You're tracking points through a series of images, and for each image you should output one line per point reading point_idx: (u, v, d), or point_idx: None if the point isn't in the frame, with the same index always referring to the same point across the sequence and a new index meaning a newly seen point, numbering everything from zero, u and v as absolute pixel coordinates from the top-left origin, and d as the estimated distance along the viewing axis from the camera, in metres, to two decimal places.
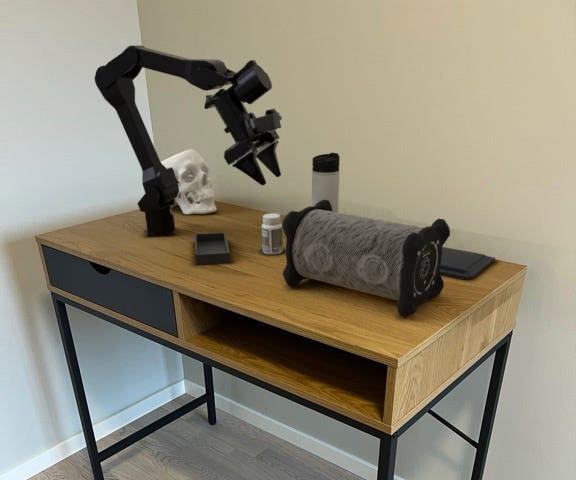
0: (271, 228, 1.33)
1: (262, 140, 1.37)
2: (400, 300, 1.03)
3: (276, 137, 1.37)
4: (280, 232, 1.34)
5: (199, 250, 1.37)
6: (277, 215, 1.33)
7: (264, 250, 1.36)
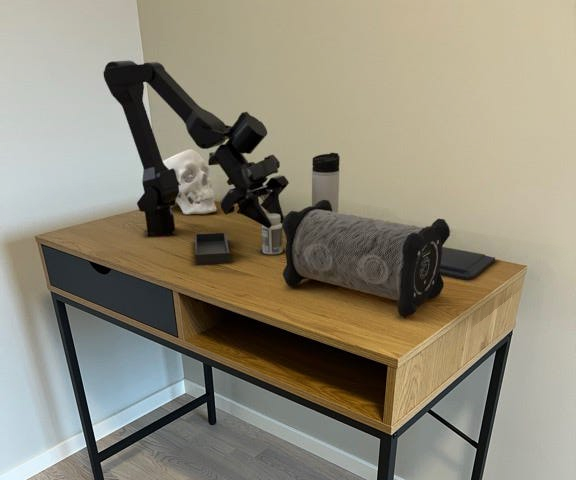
0: (271, 228, 1.33)
1: (270, 187, 1.37)
2: (400, 300, 1.03)
3: (283, 182, 1.36)
4: (281, 232, 1.34)
5: (199, 250, 1.37)
6: (277, 215, 1.33)
7: (264, 250, 1.36)
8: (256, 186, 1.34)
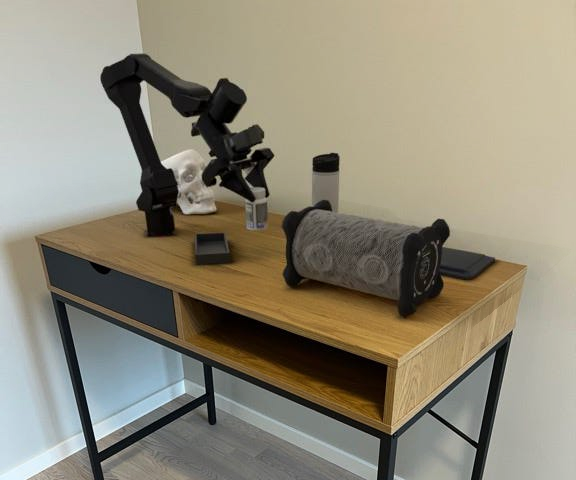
0: (255, 202, 1.26)
1: (254, 160, 1.30)
2: (400, 300, 1.03)
3: (269, 154, 1.30)
4: (265, 207, 1.27)
5: (199, 250, 1.37)
6: (262, 189, 1.27)
7: (248, 226, 1.29)
8: (240, 158, 1.27)
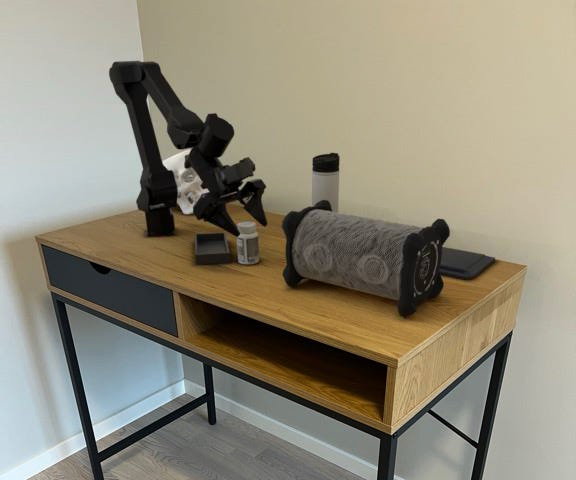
0: (245, 237, 1.27)
1: (246, 191, 1.31)
2: (400, 300, 1.03)
3: (260, 186, 1.30)
4: (256, 241, 1.29)
5: (199, 250, 1.37)
6: (252, 223, 1.28)
7: (239, 260, 1.30)
8: (231, 190, 1.28)
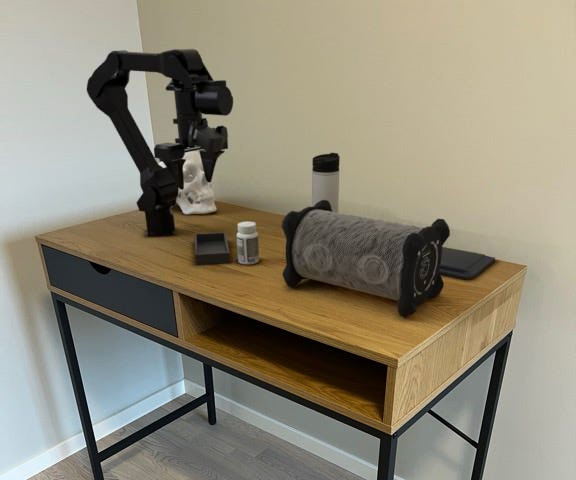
0: (245, 237, 1.27)
1: None
2: (400, 300, 1.03)
3: (223, 148, 1.39)
4: (256, 241, 1.29)
5: (199, 250, 1.37)
6: (252, 223, 1.28)
7: (239, 260, 1.30)
8: None
